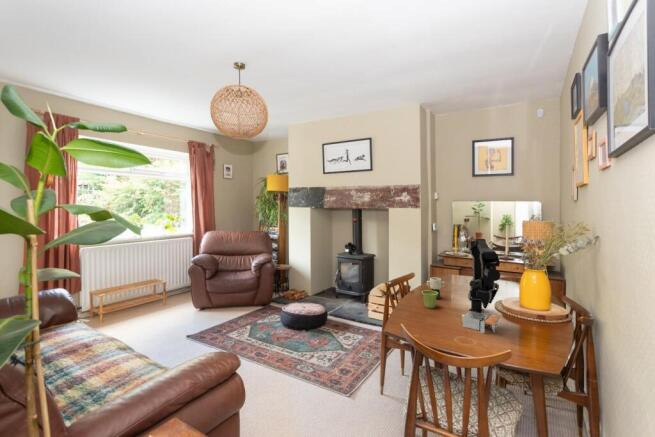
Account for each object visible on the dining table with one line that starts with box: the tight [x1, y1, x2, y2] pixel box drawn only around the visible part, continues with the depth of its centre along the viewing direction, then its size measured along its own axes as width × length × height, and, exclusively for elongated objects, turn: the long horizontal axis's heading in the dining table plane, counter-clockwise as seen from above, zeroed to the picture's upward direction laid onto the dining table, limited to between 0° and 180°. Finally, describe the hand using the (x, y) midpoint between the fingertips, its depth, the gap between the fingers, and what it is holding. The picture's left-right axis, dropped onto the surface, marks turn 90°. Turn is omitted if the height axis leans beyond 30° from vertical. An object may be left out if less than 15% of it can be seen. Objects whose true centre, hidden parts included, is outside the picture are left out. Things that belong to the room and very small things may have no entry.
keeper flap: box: [483, 315, 501, 326], centre depth 164 cm, size 12×5×1 cm, turn 139°
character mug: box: [426, 276, 445, 300], centre depth 215 cm, size 11×7×13 cm, turn 74°
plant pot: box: [421, 289, 438, 309], centre depth 199 cm, size 9×9×9 cm
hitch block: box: [462, 311, 499, 334], centre depth 167 cm, size 14×14×6 cm
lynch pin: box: [460, 313, 491, 328], centre depth 168 cm, size 4×13×4 cm, turn 49°
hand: (487, 305), depth 167 cm, fingers open, 9 cm apart
